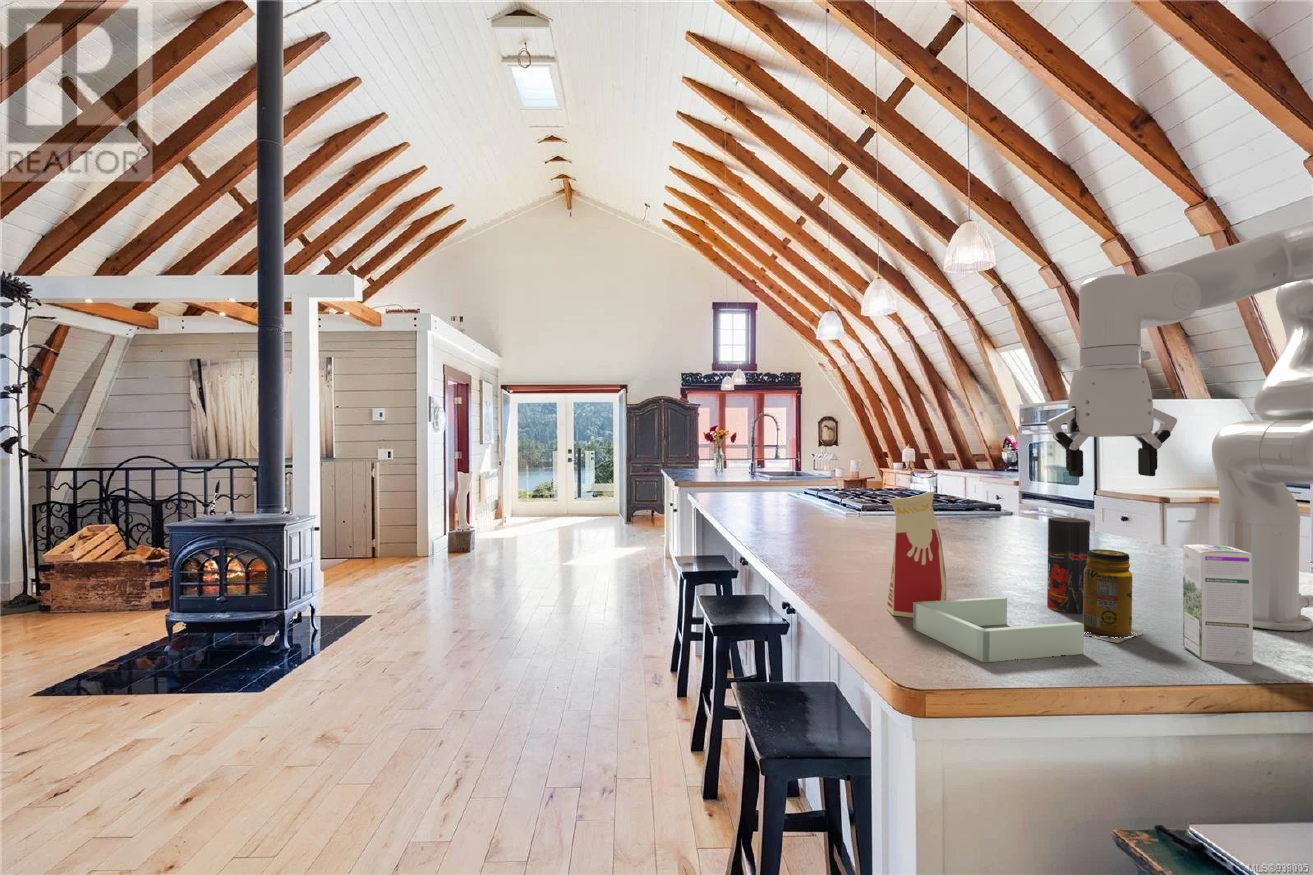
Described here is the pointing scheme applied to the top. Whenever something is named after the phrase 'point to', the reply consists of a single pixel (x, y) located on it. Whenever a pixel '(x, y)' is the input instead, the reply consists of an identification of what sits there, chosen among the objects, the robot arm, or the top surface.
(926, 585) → the milk carton
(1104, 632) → the condiment
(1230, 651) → the syrup box
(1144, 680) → the top surface
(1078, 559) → the deodorant
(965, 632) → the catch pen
